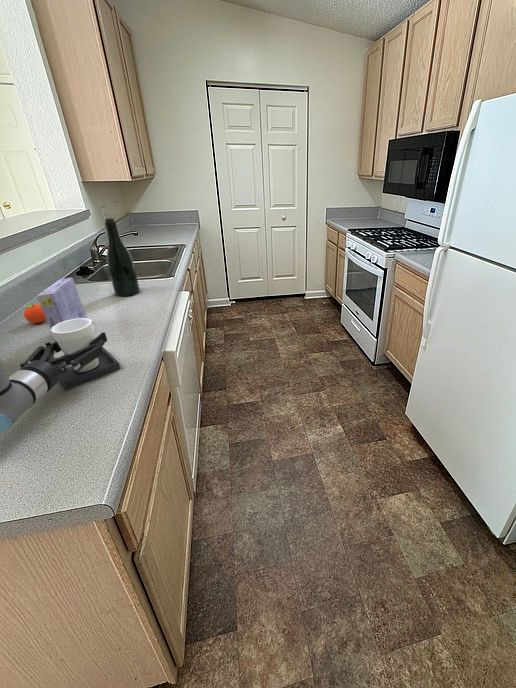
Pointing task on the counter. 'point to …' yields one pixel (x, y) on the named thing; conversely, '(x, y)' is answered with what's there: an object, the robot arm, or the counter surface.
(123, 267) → the beer bottle
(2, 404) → the robot arm
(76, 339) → the foam cup
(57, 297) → the cake pan box
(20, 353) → the counter surface
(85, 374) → the shallow black tray
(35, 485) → the counter surface
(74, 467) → the counter surface
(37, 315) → the red tomato
